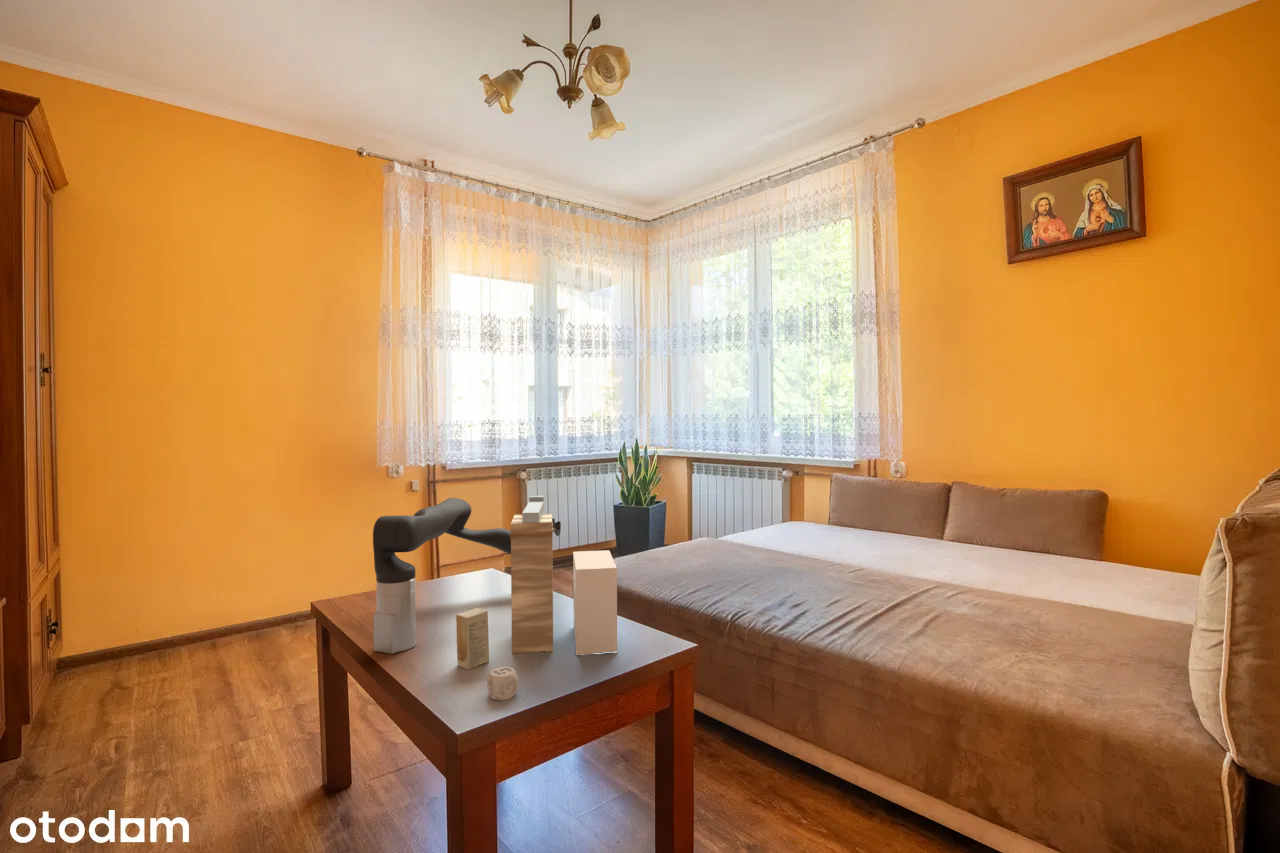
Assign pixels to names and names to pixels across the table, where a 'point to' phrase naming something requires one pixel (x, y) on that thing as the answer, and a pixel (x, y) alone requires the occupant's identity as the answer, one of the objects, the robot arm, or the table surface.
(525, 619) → the tall brown wood-grain block
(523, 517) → the pale blue-grey block
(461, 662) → the skincare box
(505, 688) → the die
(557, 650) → the table surface
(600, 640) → the block
